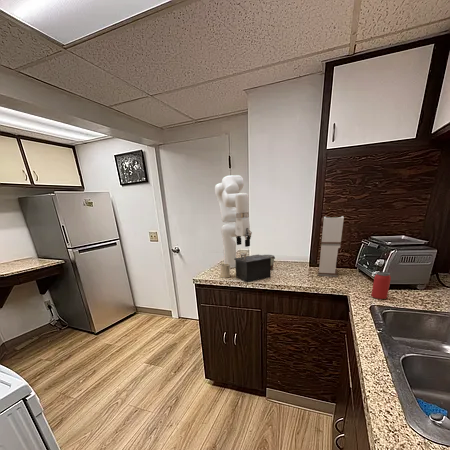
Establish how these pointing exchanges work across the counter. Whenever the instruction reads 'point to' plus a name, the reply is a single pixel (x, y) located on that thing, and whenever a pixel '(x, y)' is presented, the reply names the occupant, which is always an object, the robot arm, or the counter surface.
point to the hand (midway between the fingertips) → (243, 245)
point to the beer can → (381, 285)
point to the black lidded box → (253, 270)
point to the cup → (225, 270)
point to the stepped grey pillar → (330, 245)
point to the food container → (271, 260)
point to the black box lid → (251, 258)
